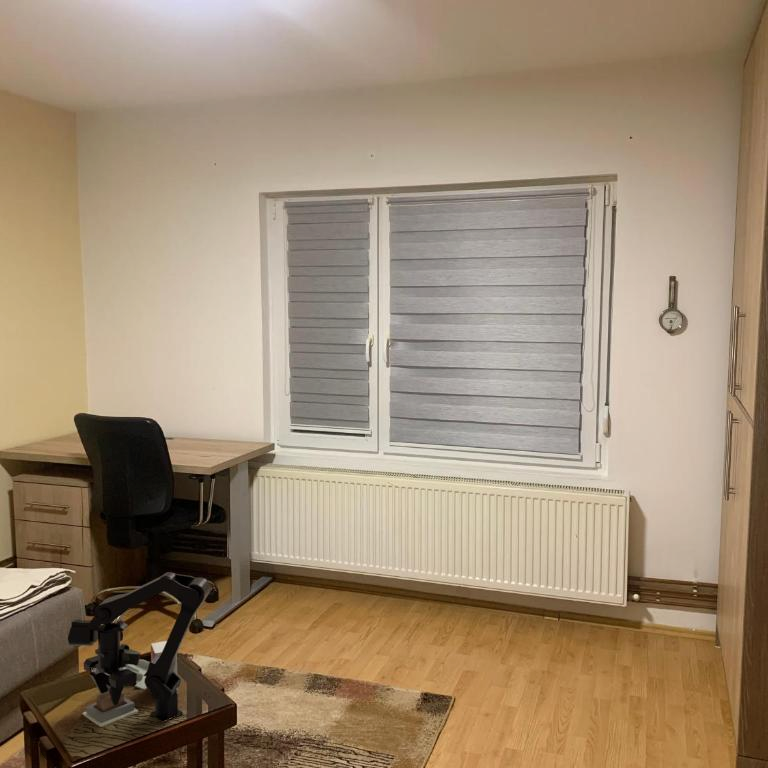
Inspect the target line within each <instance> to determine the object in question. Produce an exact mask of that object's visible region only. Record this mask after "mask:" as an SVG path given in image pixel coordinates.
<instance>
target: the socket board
mask: <svg viewBox="0 0 768 768" xmlns="http://www.w3.org/2000/svg"><path fill="white" fill-rule="evenodd" d="M85 709H86V711H84V712H82V715H83V717H85V718H87V719H89V720H90V721H91V722H92V723H94V724H96V726H99V727H100V728H102V727H105V726H107V725H109V724H113V723H115V722H118V721H120V720H122V719H125V718H128V717H130V716H133V715H135V714H138V713H139V710H138V709H137V708H135V702H134V701H132V700H130V699H128V698H126V697H125V696H124V705H122V706H119V707H116V708H114V709H111V710H108V711H106V712H103V713H102V712H101V711H99V710H98V709H97V702H94V703H92V704H89V705H86V708H85Z"/></svg>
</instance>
